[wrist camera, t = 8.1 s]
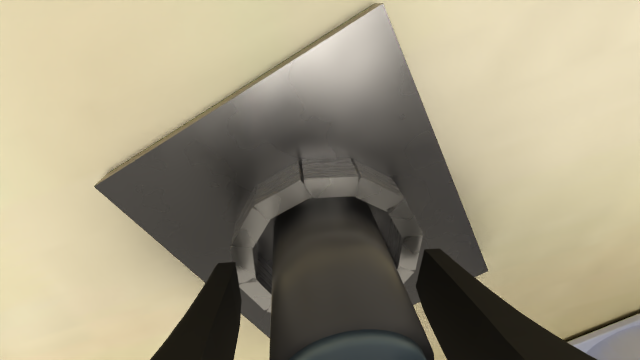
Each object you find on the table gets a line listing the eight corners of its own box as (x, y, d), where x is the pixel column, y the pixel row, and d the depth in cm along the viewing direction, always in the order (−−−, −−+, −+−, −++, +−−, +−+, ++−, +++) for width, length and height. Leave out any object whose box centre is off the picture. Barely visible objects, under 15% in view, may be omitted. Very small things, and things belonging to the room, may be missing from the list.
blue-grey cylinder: (382, 189, 13) (463, 333, 7) (365, 268, 15) (417, 427, 9) (274, 187, 12) (269, 343, 7) (272, 269, 14) (267, 441, 9)
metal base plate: (477, 257, 17) (506, 293, 15) (293, 342, 19) (294, 385, 17) (375, 3, 10) (399, 3, 8) (107, 173, 12) (69, 209, 10)
